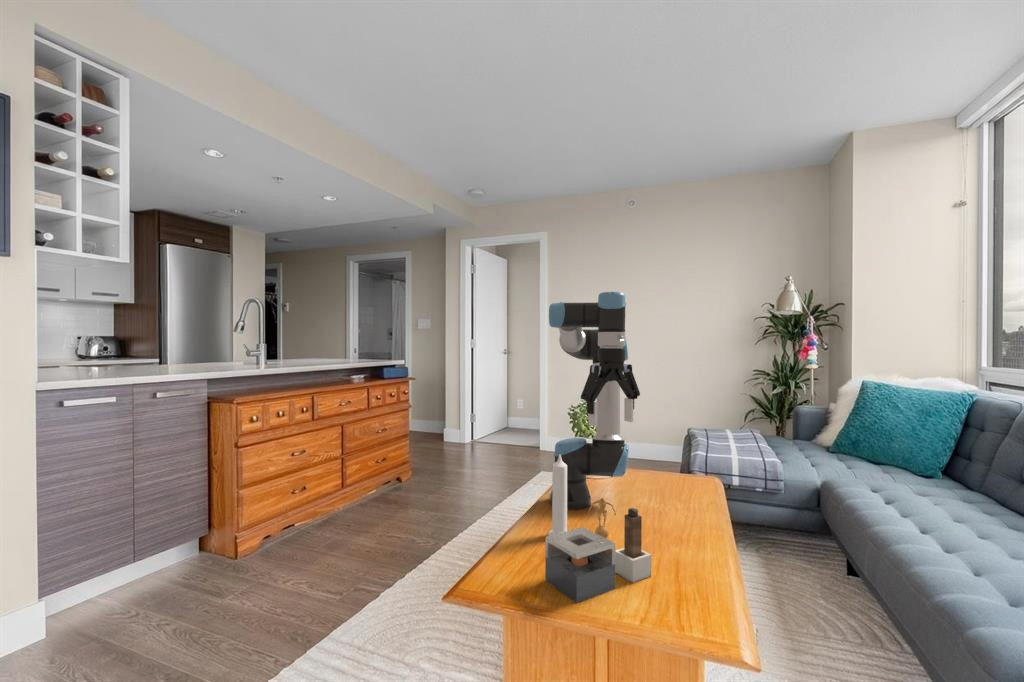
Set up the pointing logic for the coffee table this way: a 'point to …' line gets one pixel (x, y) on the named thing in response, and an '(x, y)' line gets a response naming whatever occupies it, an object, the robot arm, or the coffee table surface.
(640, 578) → the pen cup
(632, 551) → the wood knob block
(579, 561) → the button
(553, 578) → the grey box with hole
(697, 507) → the coffee table surface
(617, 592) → the coffee table surface
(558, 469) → the candle
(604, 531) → the figurine
